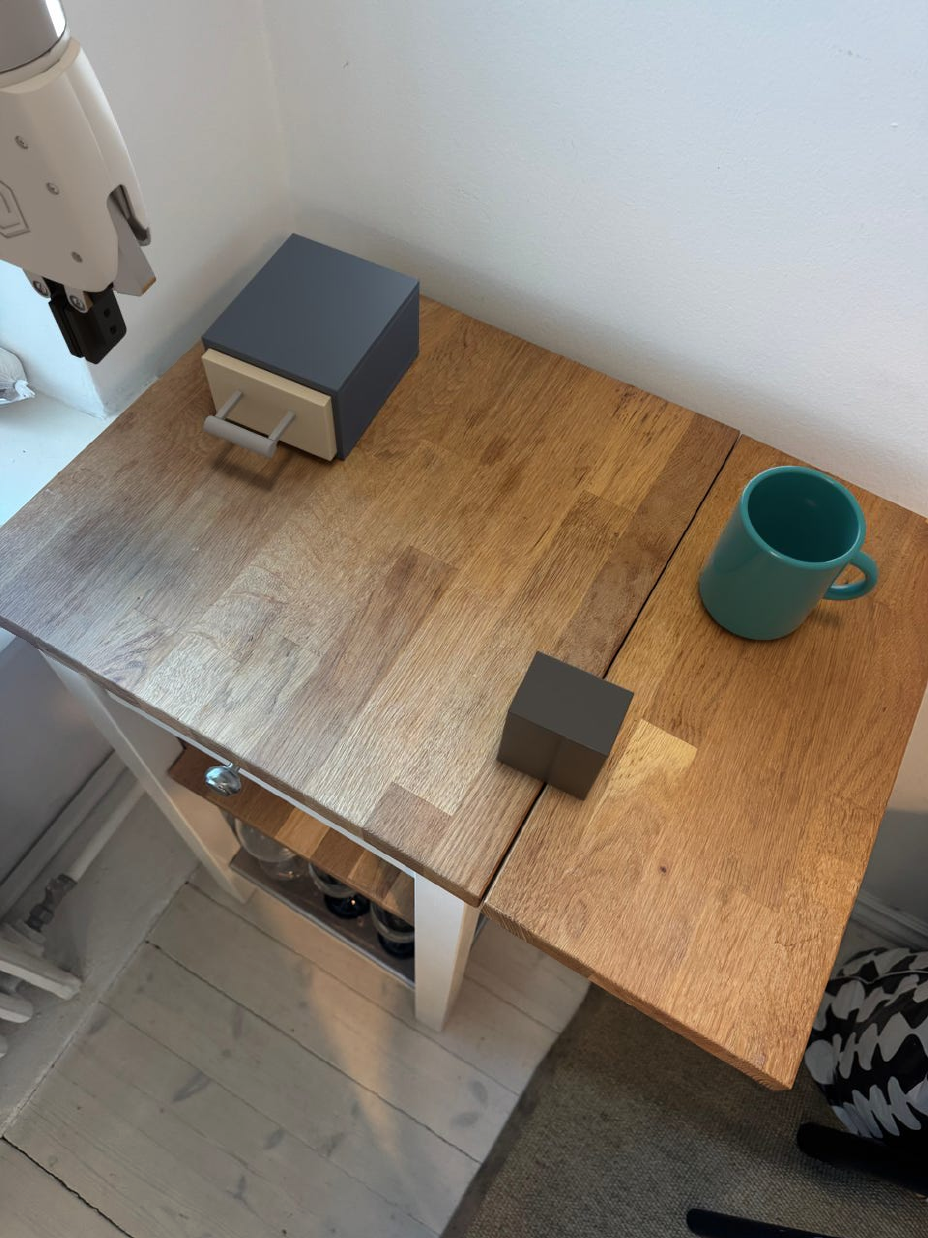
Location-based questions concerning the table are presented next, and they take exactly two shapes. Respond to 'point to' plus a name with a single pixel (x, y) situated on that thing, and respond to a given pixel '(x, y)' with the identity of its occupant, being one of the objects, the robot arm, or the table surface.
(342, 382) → the cabinet
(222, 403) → the drawer
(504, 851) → the table surface
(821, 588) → the cup
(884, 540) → the table surface
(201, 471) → the table surface
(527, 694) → the dark gray block
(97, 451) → the table surface
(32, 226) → the robot arm
